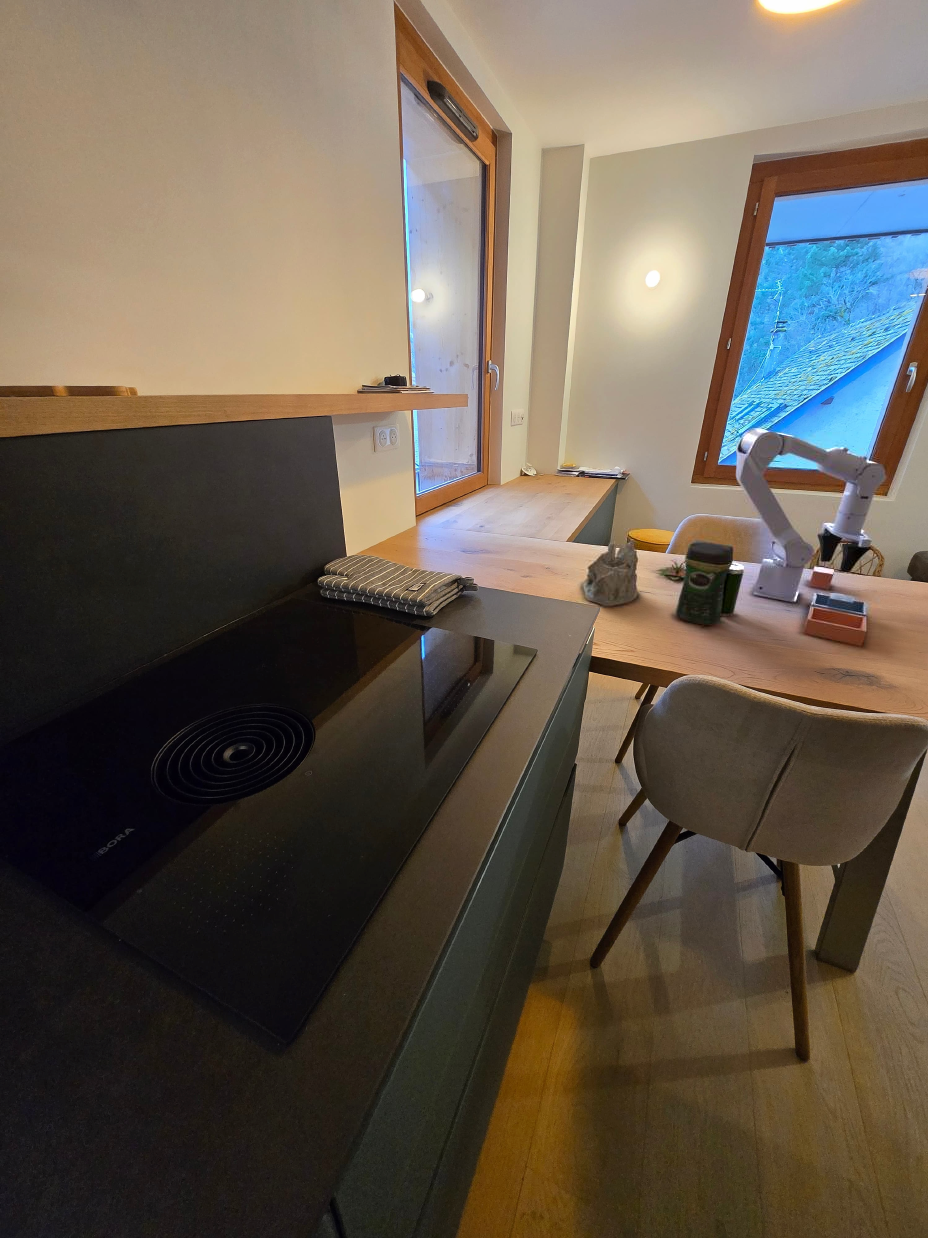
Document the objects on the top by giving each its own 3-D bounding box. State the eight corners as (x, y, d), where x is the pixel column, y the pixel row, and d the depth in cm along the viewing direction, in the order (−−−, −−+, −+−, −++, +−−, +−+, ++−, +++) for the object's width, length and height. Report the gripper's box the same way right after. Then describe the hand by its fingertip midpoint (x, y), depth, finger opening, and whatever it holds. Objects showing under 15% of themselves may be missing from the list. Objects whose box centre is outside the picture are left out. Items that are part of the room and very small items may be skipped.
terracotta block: (808, 586, 135) (813, 570, 133) (810, 581, 138) (814, 566, 136) (828, 589, 132) (833, 574, 130) (829, 584, 135) (834, 569, 133)
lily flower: (671, 584, 137) (673, 569, 135) (646, 570, 148) (649, 556, 146) (708, 580, 140) (711, 565, 138) (682, 566, 150) (684, 552, 148)
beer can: (725, 618, 117) (736, 571, 112) (704, 611, 121) (714, 564, 116) (737, 613, 120) (749, 566, 115) (717, 605, 124) (727, 560, 119)
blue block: (823, 615, 117) (829, 598, 115) (825, 609, 120) (830, 592, 118) (847, 620, 114) (853, 602, 112) (847, 613, 118) (853, 596, 116)
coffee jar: (723, 618, 118) (740, 543, 110) (712, 629, 112) (730, 551, 104) (682, 607, 123) (695, 535, 115) (670, 618, 118) (683, 543, 110)
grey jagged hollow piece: (602, 577, 143) (607, 527, 136) (649, 597, 131) (657, 543, 123) (563, 592, 136) (565, 540, 128) (608, 614, 124) (614, 559, 116)
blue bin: (807, 617, 117) (811, 604, 116) (810, 605, 123) (814, 592, 122) (861, 628, 112) (866, 614, 110) (862, 615, 118) (867, 602, 116)
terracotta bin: (803, 633, 110) (807, 619, 108) (806, 619, 116) (811, 606, 115) (860, 646, 104) (866, 631, 103) (861, 631, 111) (866, 617, 109)
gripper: (892, 520, 112) (871, 576, 118) (848, 505, 125) (832, 556, 131) (860, 520, 112) (842, 576, 118) (820, 506, 125) (805, 557, 131)
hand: (834, 566), depth 124 cm, fingers open, 7 cm apart
